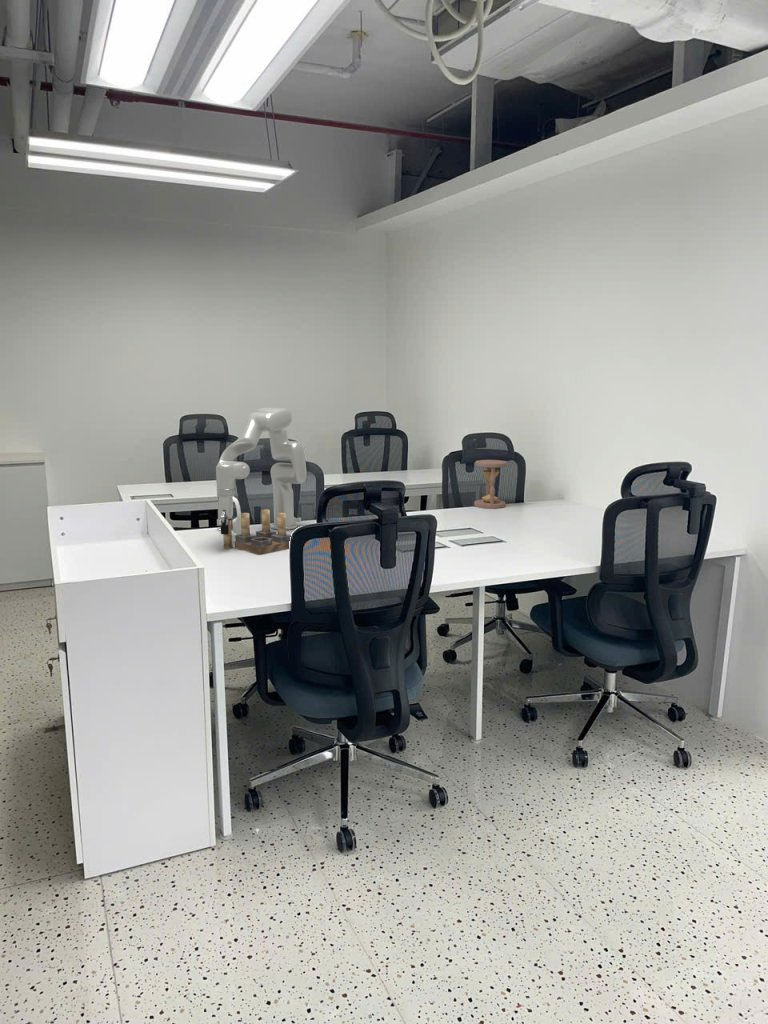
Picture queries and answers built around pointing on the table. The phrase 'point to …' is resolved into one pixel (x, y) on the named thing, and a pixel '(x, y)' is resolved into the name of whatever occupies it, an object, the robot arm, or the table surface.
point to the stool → (263, 535)
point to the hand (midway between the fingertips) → (226, 531)
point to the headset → (237, 520)
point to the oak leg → (228, 537)
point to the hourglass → (490, 484)
